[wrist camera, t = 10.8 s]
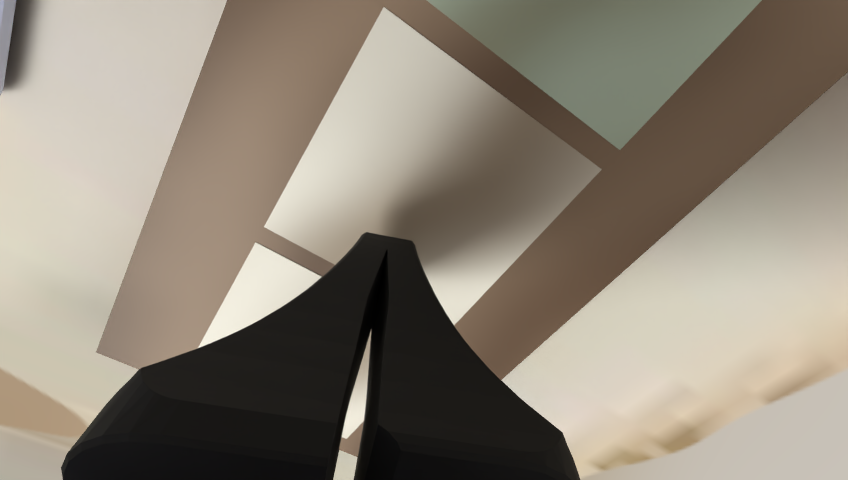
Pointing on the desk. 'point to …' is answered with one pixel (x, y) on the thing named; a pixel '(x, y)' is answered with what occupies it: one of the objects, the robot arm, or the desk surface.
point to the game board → (456, 154)
